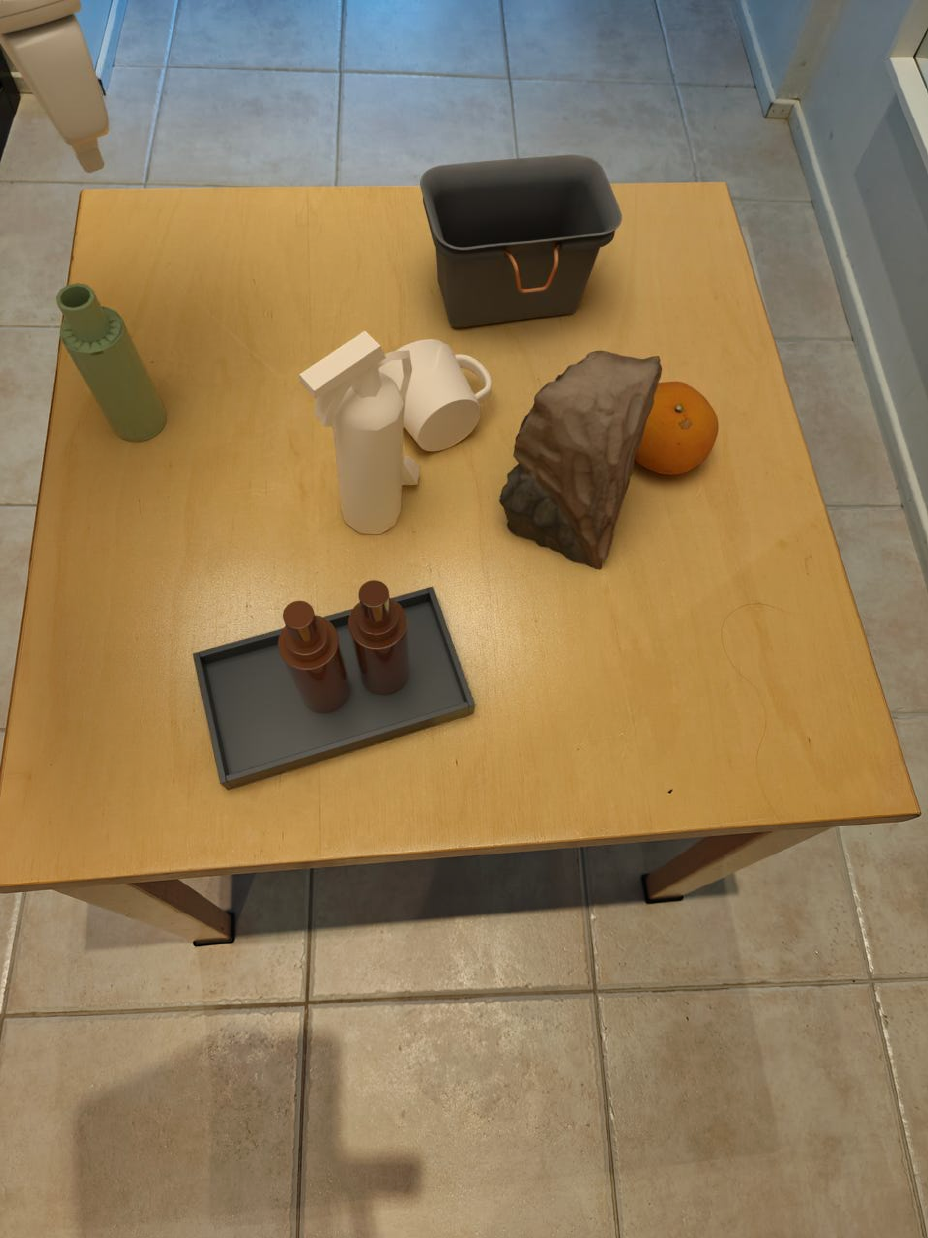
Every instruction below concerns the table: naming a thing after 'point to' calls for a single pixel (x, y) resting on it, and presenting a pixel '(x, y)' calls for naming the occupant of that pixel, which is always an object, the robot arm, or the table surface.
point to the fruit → (677, 430)
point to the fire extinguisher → (365, 430)
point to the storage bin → (517, 234)
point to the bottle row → (319, 654)
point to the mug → (439, 394)
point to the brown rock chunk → (580, 455)
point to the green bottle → (110, 364)
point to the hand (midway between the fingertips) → (73, 136)
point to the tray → (296, 736)
